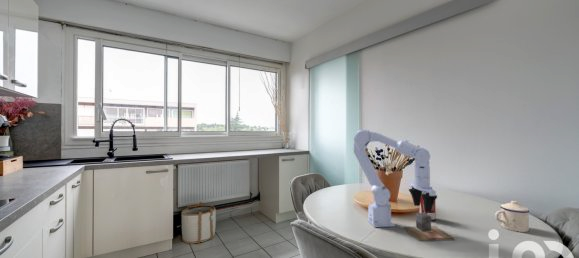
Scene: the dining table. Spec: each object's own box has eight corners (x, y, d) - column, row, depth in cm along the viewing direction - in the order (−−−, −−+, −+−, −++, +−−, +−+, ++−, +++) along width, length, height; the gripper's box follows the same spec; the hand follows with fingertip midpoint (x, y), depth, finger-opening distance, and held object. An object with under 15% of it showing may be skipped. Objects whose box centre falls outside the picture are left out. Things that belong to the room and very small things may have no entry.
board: (419, 240, 92) (419, 238, 92) (403, 228, 103) (403, 226, 103) (453, 239, 92) (453, 237, 92) (435, 227, 103) (434, 225, 103)
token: (421, 231, 98) (421, 216, 98) (416, 227, 102) (416, 213, 102) (431, 230, 98) (431, 216, 98) (425, 226, 102) (425, 213, 102)
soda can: (438, 221, 110) (437, 196, 110) (422, 220, 111) (421, 195, 111) (432, 216, 117) (432, 192, 117) (417, 215, 118) (417, 191, 118)
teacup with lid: (517, 224, 107) (517, 198, 107) (535, 233, 98) (535, 204, 98) (488, 223, 108) (488, 197, 108) (503, 231, 99) (503, 204, 99)
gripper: (442, 179, 94) (443, 214, 94) (420, 173, 108) (421, 202, 108) (425, 180, 94) (426, 214, 94) (405, 173, 108) (406, 203, 108)
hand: (422, 208), depth 101 cm, fingers open, 7 cm apart
